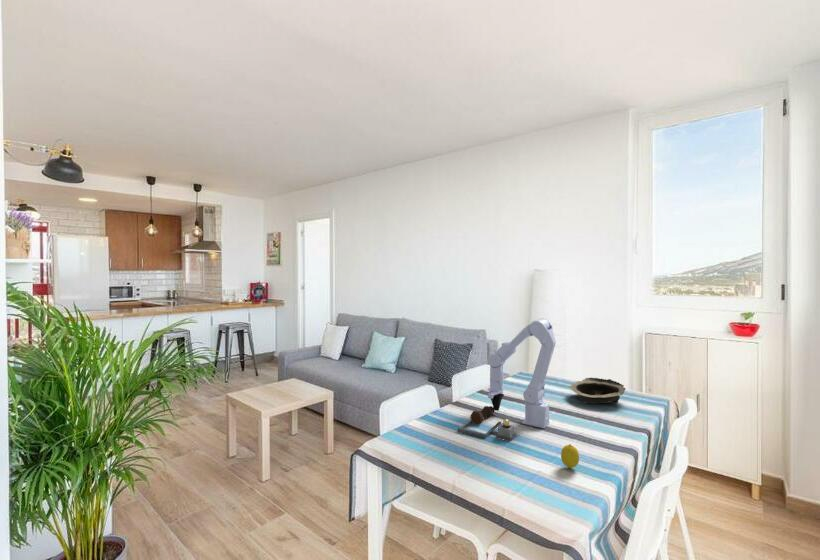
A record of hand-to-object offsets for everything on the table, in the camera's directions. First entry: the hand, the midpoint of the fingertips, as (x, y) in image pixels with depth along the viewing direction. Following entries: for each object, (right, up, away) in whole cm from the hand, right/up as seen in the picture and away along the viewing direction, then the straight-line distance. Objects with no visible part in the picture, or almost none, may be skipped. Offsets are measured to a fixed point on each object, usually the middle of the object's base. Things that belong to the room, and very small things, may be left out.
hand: (496, 409), depth 180 cm
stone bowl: (+53, -2, +17) cm, 56 cm away
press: (-6, -3, -18) cm, 19 cm away
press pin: (-1, +1, -24) cm, 24 cm away
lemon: (+14, -4, -48) cm, 50 cm away
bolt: (-6, -2, -5) cm, 9 cm away
